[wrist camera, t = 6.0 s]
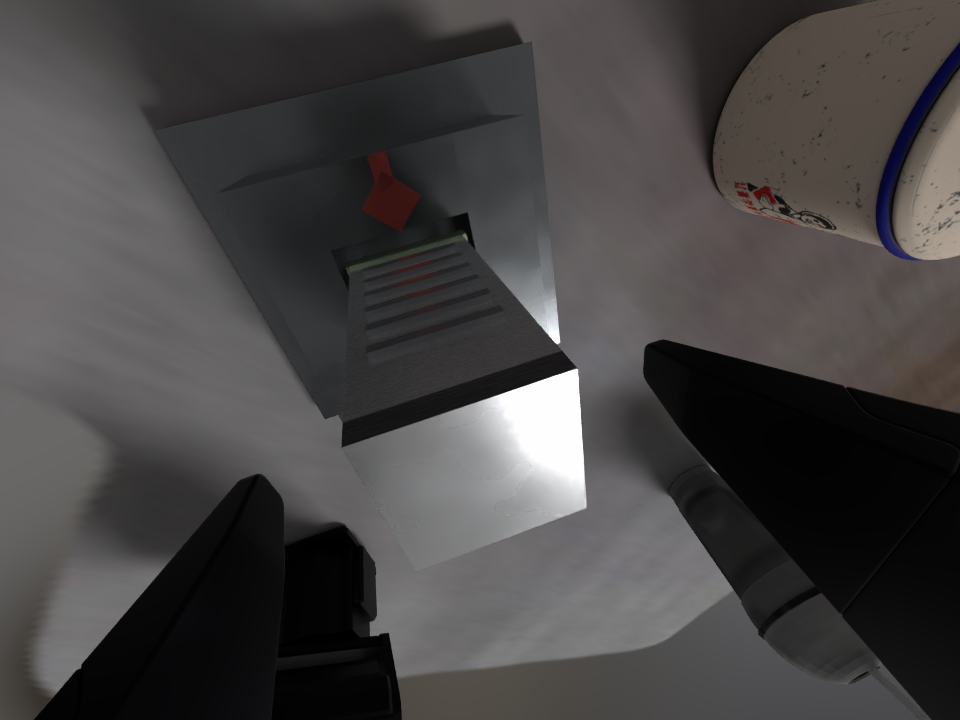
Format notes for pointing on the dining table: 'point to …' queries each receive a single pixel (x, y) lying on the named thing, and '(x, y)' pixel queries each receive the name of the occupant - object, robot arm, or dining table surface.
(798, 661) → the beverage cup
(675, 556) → the dining table surface
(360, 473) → the column
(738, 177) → the teacup with lid
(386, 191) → the base
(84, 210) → the dining table surface
